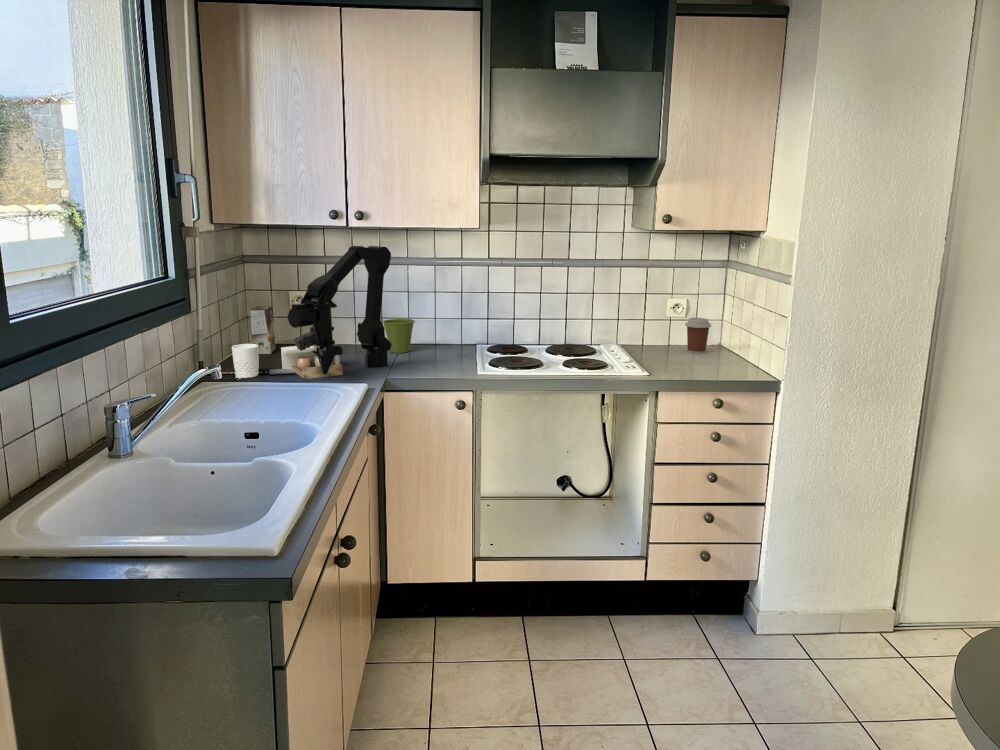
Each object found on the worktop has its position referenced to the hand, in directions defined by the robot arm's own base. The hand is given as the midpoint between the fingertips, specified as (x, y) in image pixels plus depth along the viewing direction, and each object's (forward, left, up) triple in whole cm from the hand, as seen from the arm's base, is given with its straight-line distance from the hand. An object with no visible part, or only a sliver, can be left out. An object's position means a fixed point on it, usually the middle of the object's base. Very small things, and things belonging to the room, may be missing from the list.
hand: (325, 373), depth 230 cm
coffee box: (+6, -53, -2) cm, 54 cm away
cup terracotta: (+3, -13, -1) cm, 14 cm away
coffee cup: (-132, +23, -2) cm, 134 cm away
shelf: (0, -15, -2) cm, 15 cm away
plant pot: (-37, -30, -2) cm, 48 cm away
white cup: (+20, -15, -2) cm, 25 cm away
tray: (0, -9, -2) cm, 9 cm away
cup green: (-3, -13, -1) cm, 14 cm away
